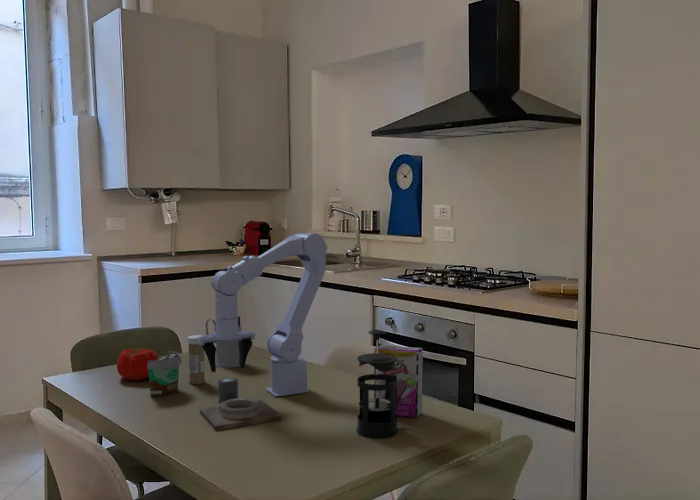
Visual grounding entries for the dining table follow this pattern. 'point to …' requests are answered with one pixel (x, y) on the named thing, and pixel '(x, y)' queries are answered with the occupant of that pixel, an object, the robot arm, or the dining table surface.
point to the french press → (377, 411)
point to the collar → (239, 413)
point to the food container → (164, 374)
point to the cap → (227, 389)
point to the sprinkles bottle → (196, 361)
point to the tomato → (135, 363)
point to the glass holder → (226, 350)
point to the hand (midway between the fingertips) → (227, 369)
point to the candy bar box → (405, 379)
